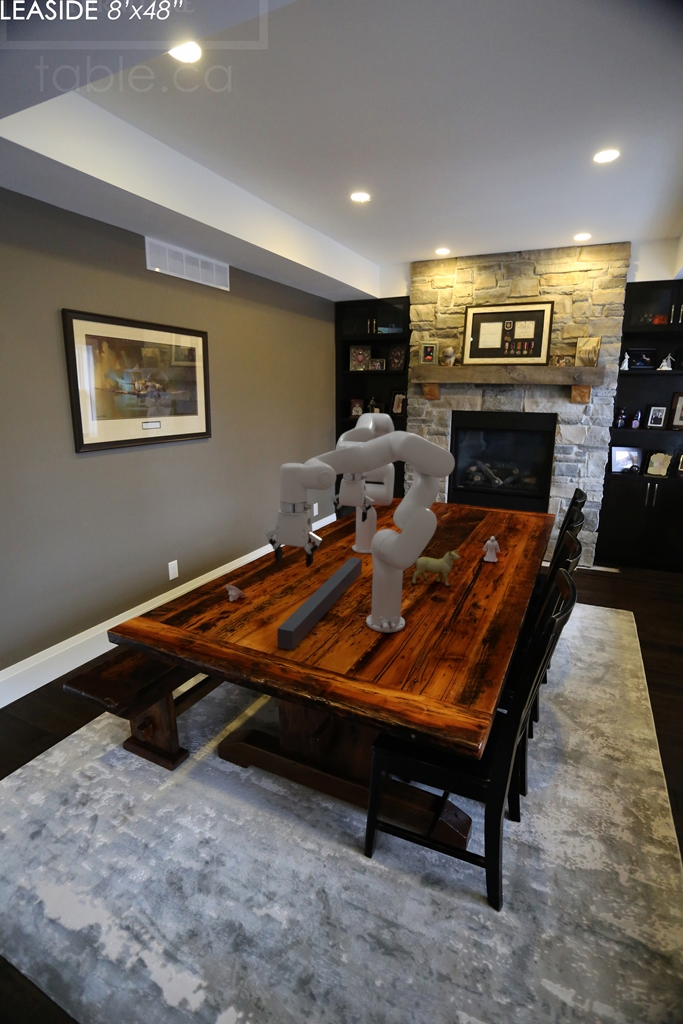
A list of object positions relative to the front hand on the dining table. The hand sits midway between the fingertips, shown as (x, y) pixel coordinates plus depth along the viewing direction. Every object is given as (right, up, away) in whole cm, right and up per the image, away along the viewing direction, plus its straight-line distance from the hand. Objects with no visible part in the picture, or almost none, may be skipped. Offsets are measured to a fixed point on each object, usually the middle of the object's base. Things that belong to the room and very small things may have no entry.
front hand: (293, 563), depth 146 cm
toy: (+51, -13, +50) cm, 73 cm away
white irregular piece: (-24, -16, +33) cm, 44 cm away
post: (+9, -17, +31) cm, 36 cm away
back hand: (+18, +12, +49) cm, 54 cm away
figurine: (+81, -7, +79) cm, 113 cm away
